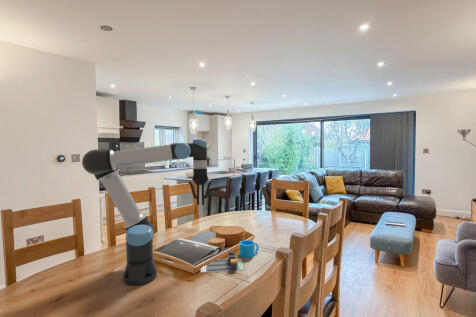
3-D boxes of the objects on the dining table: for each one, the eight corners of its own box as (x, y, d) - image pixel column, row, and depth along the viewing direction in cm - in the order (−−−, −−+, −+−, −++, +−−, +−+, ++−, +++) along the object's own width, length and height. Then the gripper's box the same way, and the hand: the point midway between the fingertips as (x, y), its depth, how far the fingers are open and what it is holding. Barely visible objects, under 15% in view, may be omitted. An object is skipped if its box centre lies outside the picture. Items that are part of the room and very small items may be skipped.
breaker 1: (228, 260, 138) (228, 253, 138) (228, 258, 141) (228, 251, 140) (234, 260, 139) (234, 252, 138) (233, 258, 141) (233, 250, 141)
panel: (199, 275, 126) (199, 272, 126) (200, 262, 140) (200, 259, 140) (245, 273, 128) (245, 270, 128) (242, 260, 142) (242, 257, 142)
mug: (245, 261, 141) (245, 246, 141) (236, 256, 148) (236, 242, 147) (262, 256, 148) (262, 242, 147) (253, 251, 155) (253, 237, 154)
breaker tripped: (230, 269, 128) (230, 261, 128) (230, 267, 131) (230, 259, 131) (237, 269, 129) (236, 261, 128) (236, 267, 131) (236, 258, 131)
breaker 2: (229, 265, 133) (229, 257, 133) (228, 262, 136) (228, 255, 135) (235, 264, 134) (235, 256, 133) (234, 262, 136) (234, 254, 136)
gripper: (187, 168, 139) (188, 213, 140) (212, 168, 140) (212, 212, 141) (188, 167, 146) (189, 209, 148) (212, 167, 148) (212, 208, 149)
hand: (200, 210), depth 145 cm, fingers closed
